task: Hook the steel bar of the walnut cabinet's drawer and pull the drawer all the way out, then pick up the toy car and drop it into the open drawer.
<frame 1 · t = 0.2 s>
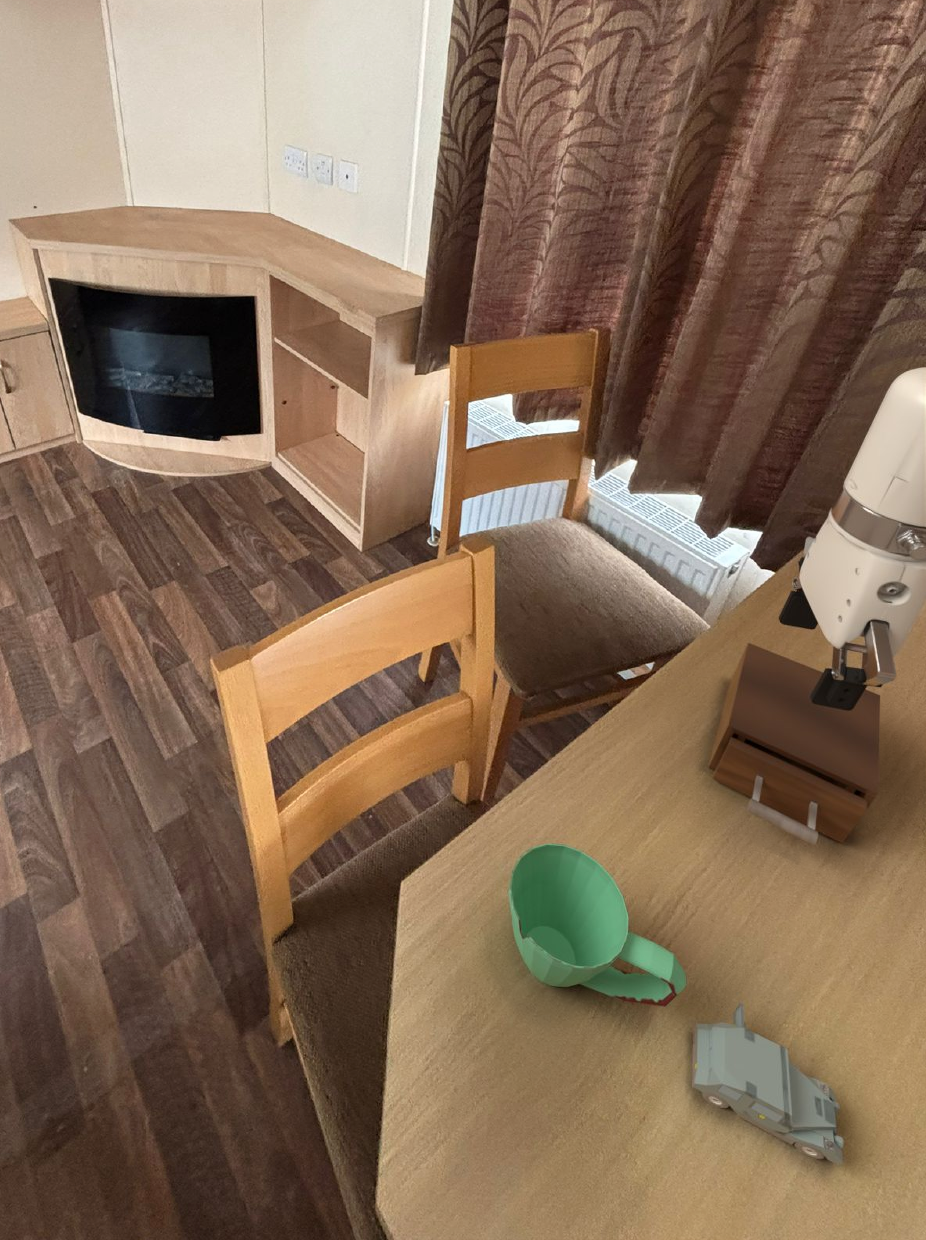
hand: (811, 662, 64), 23 cm above the table, tool pointing down, fingers open, 9 cm apart
drawer: (789, 762, 76), point 4 cm above the table, slide at 0.5 cm
mug: (574, 972, 62), on the table
toy car: (754, 1082, 56), on the table
cabinet: (781, 754, 81), on the table
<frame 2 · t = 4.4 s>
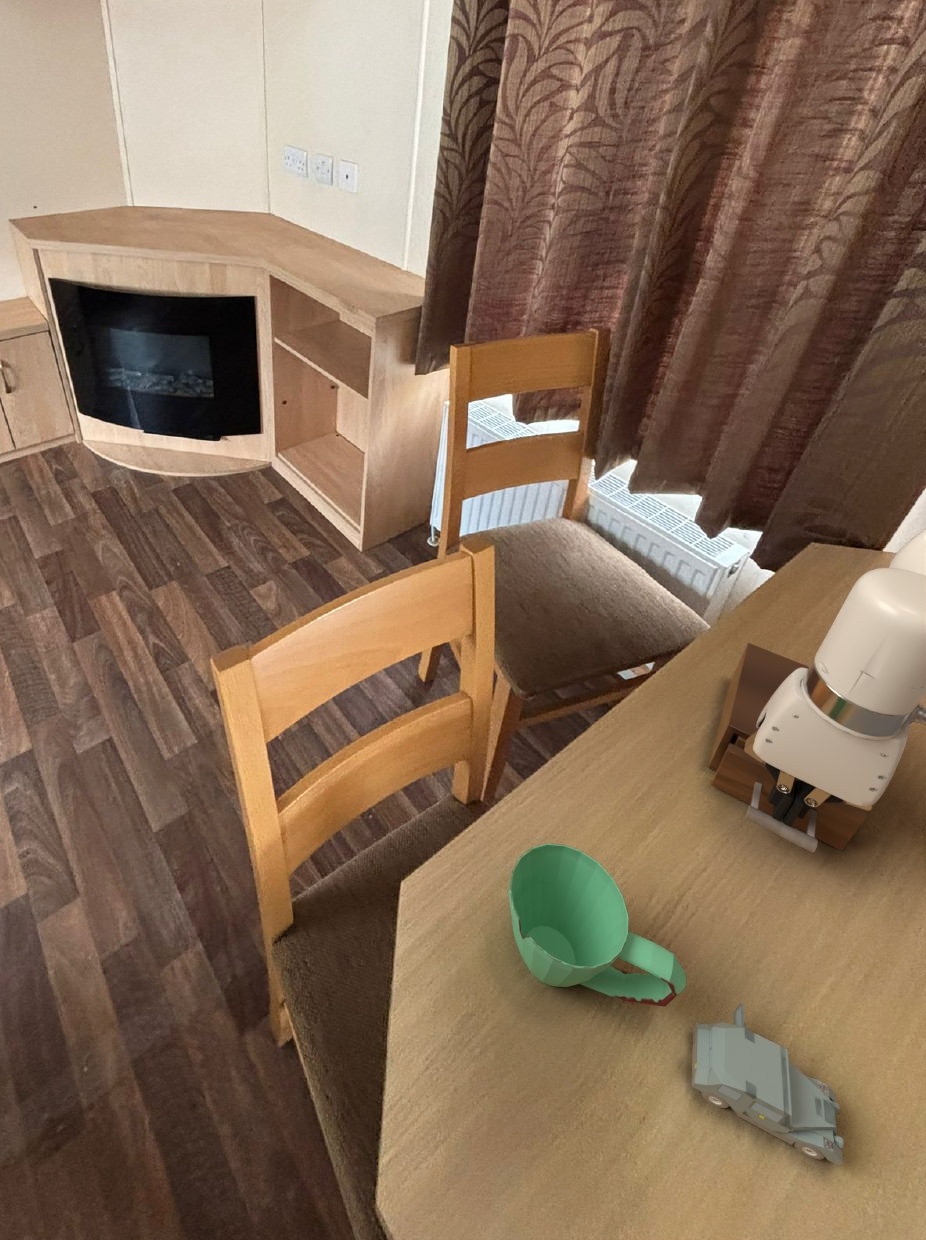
hand: (782, 811, 70), 5 cm above the table, tool pointing down, fingers closed
drawer: (788, 768, 75), point 4 cm above the table, slide at 1.4 cm, touching gripper
everything else where it was.
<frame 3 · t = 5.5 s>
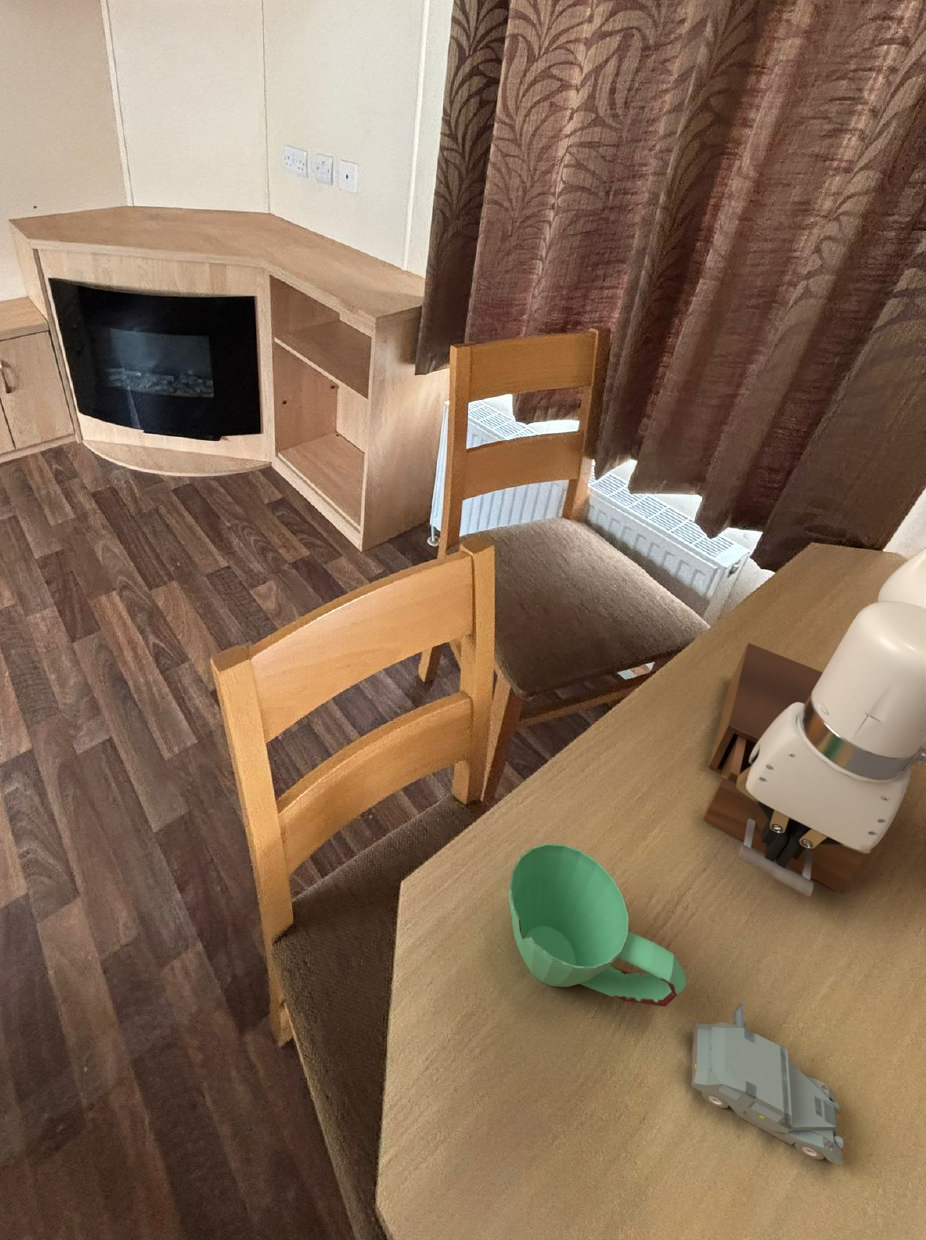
hand: (775, 850, 67), 5 cm above the table, tool pointing down, fingers closed
drawer: (783, 803, 72), point 4 cm above the table, slide at 6.3 cm, touching gripper
everything else where it was.
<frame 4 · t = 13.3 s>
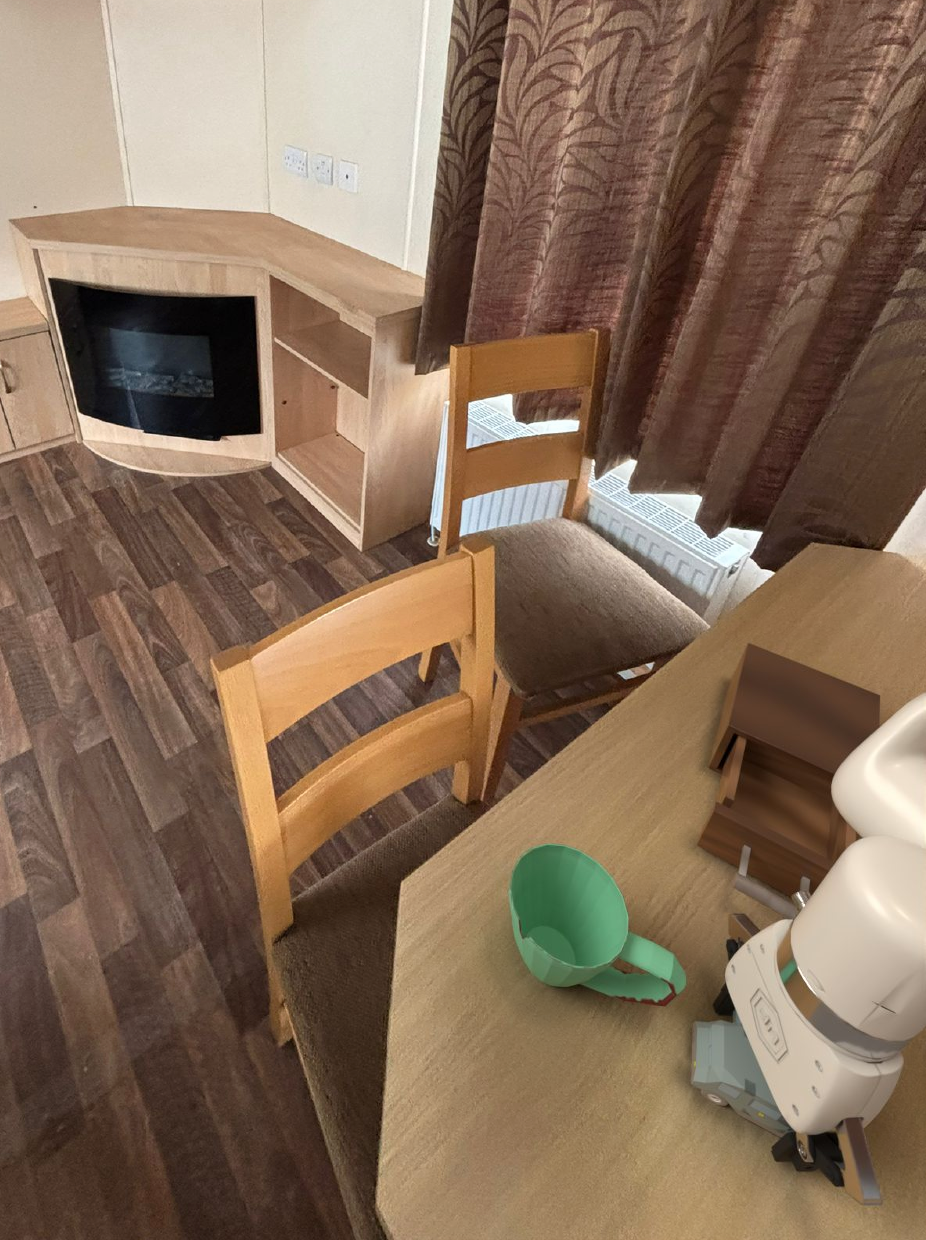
hand: (759, 1078, 55), 1 cm above the table, tool pointing down, fingers closed on toy car, 8 cm apart
drawer: (779, 828, 69), point 4 cm above the table, slide at 9.5 cm
toy car: (754, 1080, 56), on the table, touching gripper
everything else where it was.
when the fingers open (8 cm above the table, at t = 20.6 s): toy car stays where it is, resting on drawer.
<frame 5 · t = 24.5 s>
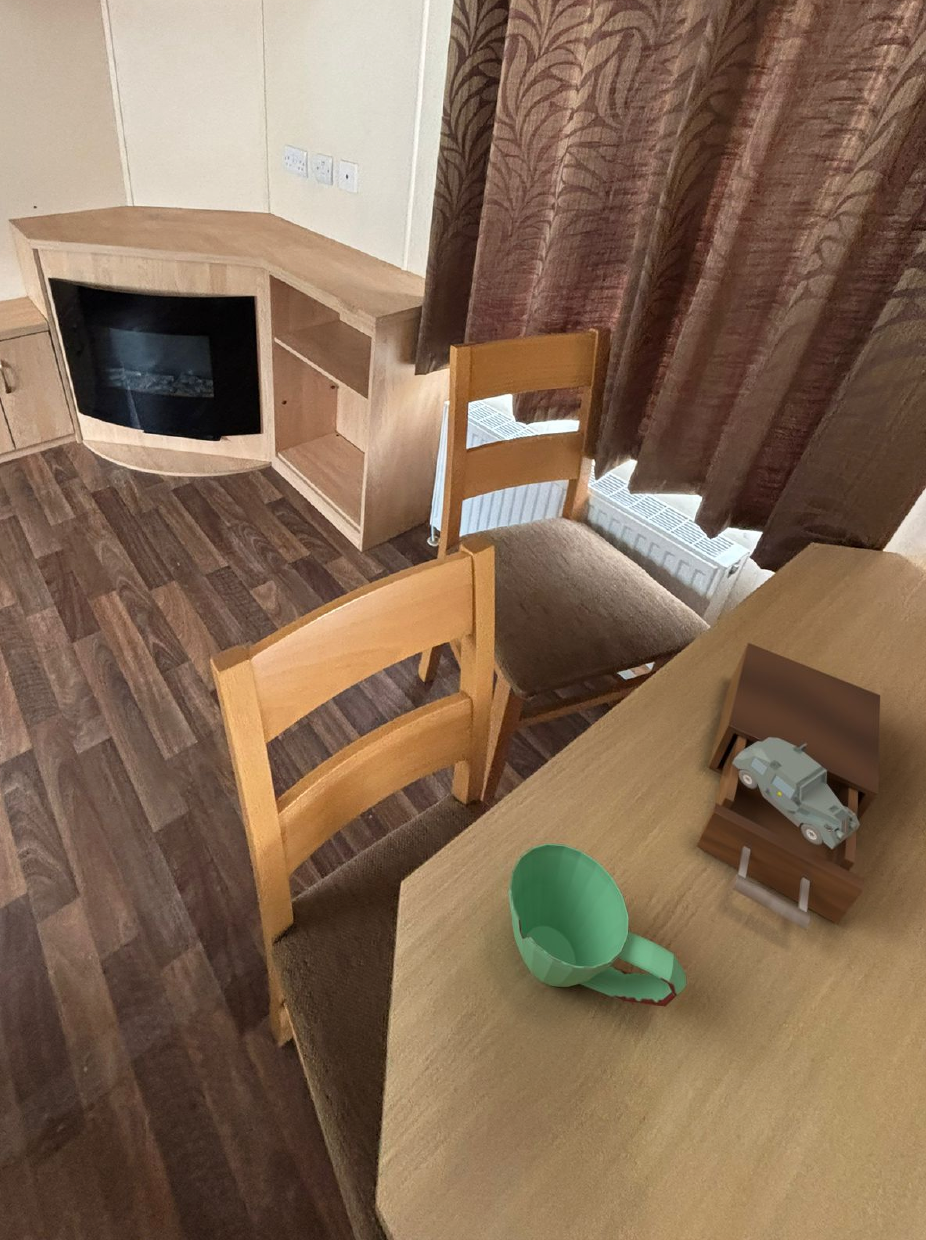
drawer: (779, 829, 69), point 4 cm above the table, slide at 9.7 cm, touching toy car
toy car: (792, 800, 69), point 7 cm above the table, touching drawer
everything else where it was.
at the end: drawer slide at 9.7 cm; toy car inside the target area in the drawer (0.7 cm from its centre), point 6.8 cm above the cabinet's base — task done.
